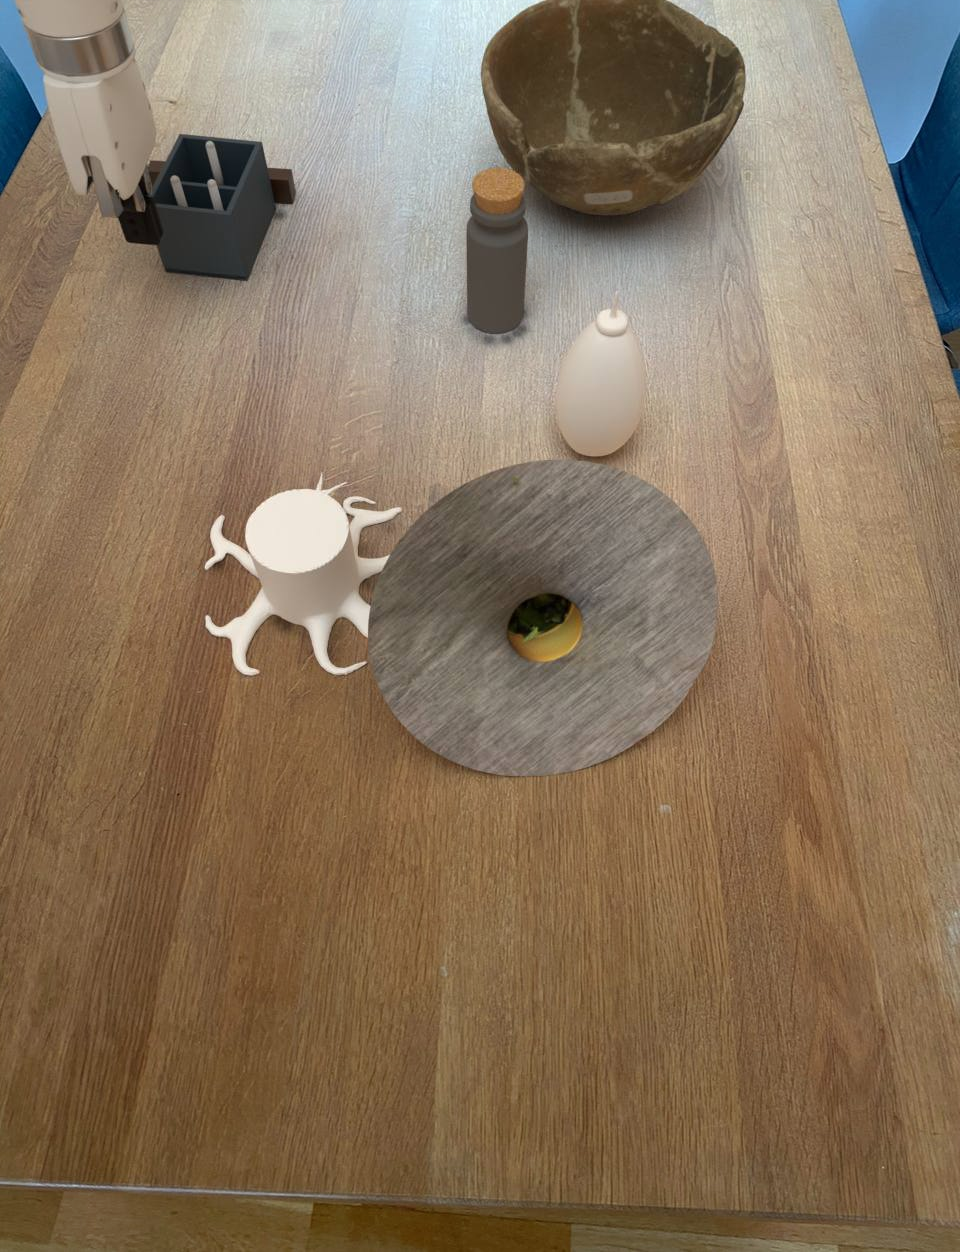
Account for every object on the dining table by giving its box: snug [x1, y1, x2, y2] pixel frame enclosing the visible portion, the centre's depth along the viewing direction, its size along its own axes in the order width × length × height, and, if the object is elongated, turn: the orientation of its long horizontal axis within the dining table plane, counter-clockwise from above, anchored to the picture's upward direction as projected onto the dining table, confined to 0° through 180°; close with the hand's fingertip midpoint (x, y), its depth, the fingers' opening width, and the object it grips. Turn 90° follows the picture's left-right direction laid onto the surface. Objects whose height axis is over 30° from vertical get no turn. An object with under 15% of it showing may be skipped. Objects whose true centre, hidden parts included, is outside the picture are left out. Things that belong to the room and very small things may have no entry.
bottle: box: [466, 167, 529, 335], centre depth 91 cm, size 6×6×15 cm
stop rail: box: [147, 159, 297, 205], centre depth 106 cm, size 2×16×3 cm, turn 85°
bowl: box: [480, 0, 747, 216], centre depth 101 cm, size 28×27×15 cm
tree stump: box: [204, 471, 403, 677], centre depth 77 cm, size 20×19×8 cm
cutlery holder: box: [148, 133, 277, 282], centre depth 99 cm, size 12×9×10 cm
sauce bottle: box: [554, 290, 647, 457], centre depth 81 cm, size 8×8×18 cm
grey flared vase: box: [367, 459, 719, 777], centre depth 72 cm, size 25×18×25 cm
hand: (145, 238), depth 88 cm, fingers closed
